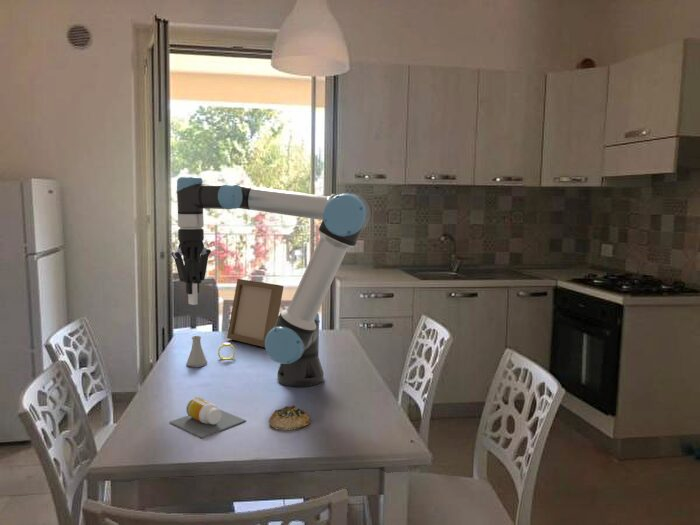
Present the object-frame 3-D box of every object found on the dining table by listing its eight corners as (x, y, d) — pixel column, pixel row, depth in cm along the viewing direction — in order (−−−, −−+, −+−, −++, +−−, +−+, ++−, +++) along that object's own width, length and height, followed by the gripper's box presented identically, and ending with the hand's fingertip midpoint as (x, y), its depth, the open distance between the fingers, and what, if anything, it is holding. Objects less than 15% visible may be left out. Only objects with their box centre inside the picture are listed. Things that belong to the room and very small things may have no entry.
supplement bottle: (188, 420, 151) (208, 431, 145) (183, 403, 150) (203, 413, 143) (204, 410, 155) (225, 420, 149) (200, 393, 153) (221, 402, 147)
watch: (234, 358, 208) (235, 342, 208) (234, 360, 206) (235, 344, 205) (217, 358, 207) (218, 342, 206) (217, 360, 204) (218, 344, 203)
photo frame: (265, 349, 219) (266, 286, 216) (226, 340, 231) (227, 280, 228) (290, 342, 231) (292, 282, 228) (252, 334, 243) (253, 276, 240)
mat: (169, 423, 149) (169, 421, 149) (213, 408, 160) (213, 406, 160) (202, 438, 140) (202, 437, 140) (245, 421, 151) (245, 420, 151)
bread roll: (285, 411, 159) (286, 395, 157) (317, 425, 153) (319, 408, 152) (259, 426, 149) (260, 409, 148) (292, 442, 144) (294, 424, 143)
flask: (201, 368, 195) (201, 340, 194) (182, 366, 196) (181, 338, 195) (210, 362, 202) (210, 335, 201) (192, 360, 203) (191, 333, 202)
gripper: (201, 226, 180) (203, 299, 183) (165, 228, 170) (167, 305, 173) (215, 227, 175) (217, 302, 178) (179, 229, 165) (182, 308, 168)
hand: (193, 304), depth 175 cm, fingers closed
